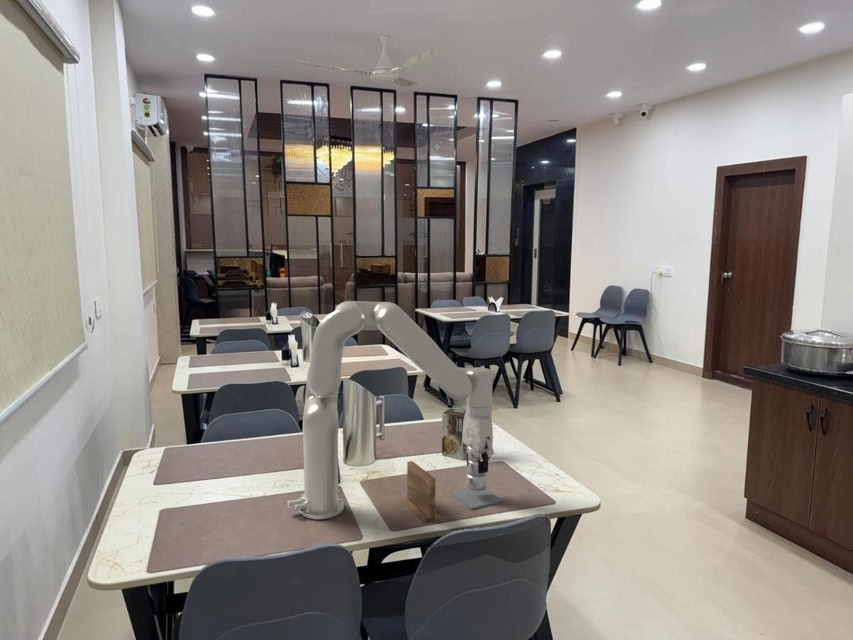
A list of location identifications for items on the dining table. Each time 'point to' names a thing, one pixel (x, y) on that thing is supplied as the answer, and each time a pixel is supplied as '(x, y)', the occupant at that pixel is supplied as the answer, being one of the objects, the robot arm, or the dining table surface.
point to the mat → (476, 498)
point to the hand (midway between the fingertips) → (477, 468)
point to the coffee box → (453, 434)
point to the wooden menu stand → (420, 493)
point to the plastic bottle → (475, 470)
